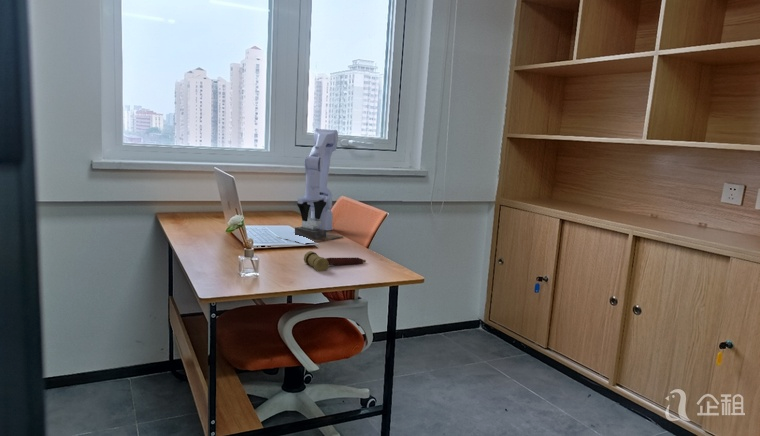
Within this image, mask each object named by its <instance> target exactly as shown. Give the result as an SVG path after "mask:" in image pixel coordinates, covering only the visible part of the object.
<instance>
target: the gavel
mask: <svg viewBox="0 0 760 436" xmlns="http://www.w3.org/2000/svg"><path fill="white" fill-rule="evenodd" d="M303 262H304V263H305V265H307V266H311V267H312V268H313V269H315V270H316V271H317V272H326V271H327V270H328V269H329V266H354V265H355V266H357V265H362V264H365V263H367V260H366V259H363V258H360V257H326V258H325V257H322V256H319V254H317V253H316V252H314V251H311V250H310V251H308V252H306V253H305V254H304V256H303Z"/></svg>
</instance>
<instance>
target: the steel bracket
mask: <svg viewBox="0 0 760 436" xmlns="http://www.w3.org/2000/svg"><path fill="white" fill-rule="evenodd" d="M319 225H321V220H318V219H313V218H311V217H308V220H307V221H301V227H302V228H303V229H307V230H311V231H317V230H318V226H319Z"/></svg>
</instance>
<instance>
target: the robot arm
mask: <svg viewBox="0 0 760 436" xmlns="http://www.w3.org/2000/svg"><path fill="white" fill-rule="evenodd" d="M313 140H314V141H313V142H314V146H312V147H311V149H310V152H309V155H308V156H306V157H305V158H304V170H305V171H304V175H305V188H304V190H305V191H304V195H303V196H302V197H298V198H297V202H296V207H298V209H299V212H300V214H301V215H300V217H301V220H302V221H307V220H308V218H309V212H310V218H313V219H318V220H321V225H319V226H318V228H320V229H325V230H327V231H326V232H328V231H334V228H333V212H332V210H331V208H332V205H333V193H332V191H331V190H330V189H329V188H328V181H329V172H330V167H331V166H330V165H331V157H332V155H333V152H335V151H337V147H338V140H339V133H338V130H337V129H325V128H324V129H323V128H315V129H314V131H313ZM302 221H301V222H302Z"/></svg>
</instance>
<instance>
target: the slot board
mask: <svg viewBox="0 0 760 436" xmlns="http://www.w3.org/2000/svg"><path fill="white" fill-rule="evenodd" d="M294 233H295V235H299V236H303V237H306V238H308V239H310V240H312V241H314V242H317V243H322V242H328V241H332V240H333V241H334V240H338V239H343V238H344V236H343V235H340V234H336V233H332V232H328V231H327V230H325V229H320V228H318V230H317V231H311V230H307V229H303V228H302V226H297V227H294Z"/></svg>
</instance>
